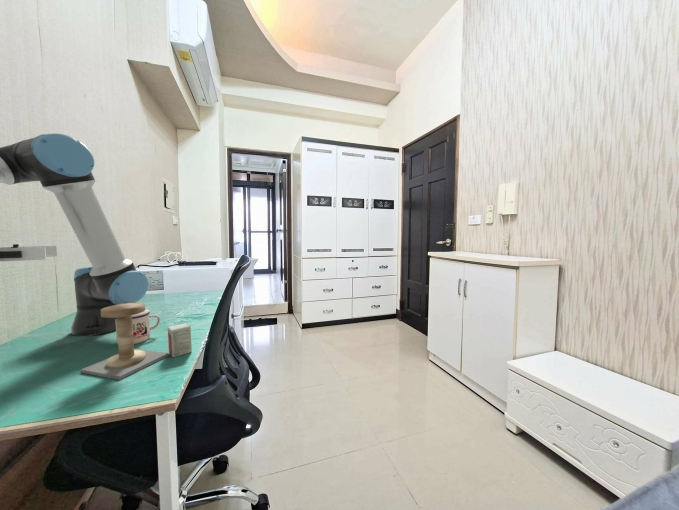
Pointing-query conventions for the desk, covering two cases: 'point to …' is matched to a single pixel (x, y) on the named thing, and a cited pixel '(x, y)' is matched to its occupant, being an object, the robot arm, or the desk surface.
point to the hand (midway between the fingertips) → (51, 252)
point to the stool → (124, 334)
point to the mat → (120, 373)
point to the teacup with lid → (141, 326)
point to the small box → (179, 339)
